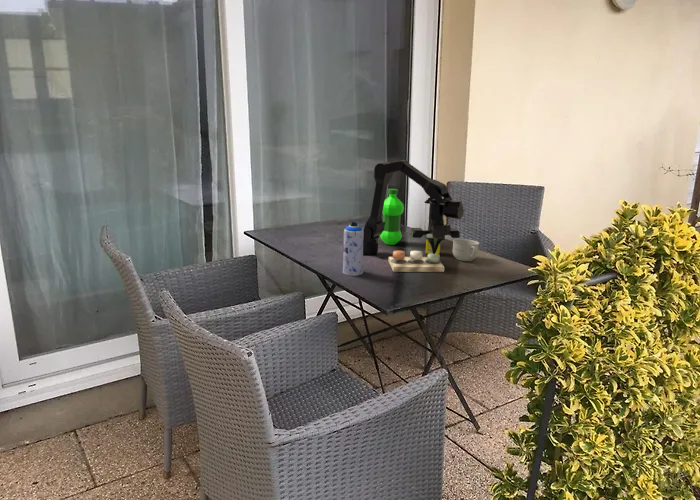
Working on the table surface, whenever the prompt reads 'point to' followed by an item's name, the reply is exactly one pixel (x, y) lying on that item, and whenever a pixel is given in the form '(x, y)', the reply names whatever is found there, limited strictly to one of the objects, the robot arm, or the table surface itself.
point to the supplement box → (428, 248)
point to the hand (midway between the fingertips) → (433, 253)
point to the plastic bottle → (392, 218)
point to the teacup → (465, 249)
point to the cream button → (416, 255)
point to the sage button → (433, 257)
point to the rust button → (398, 254)
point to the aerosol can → (353, 250)
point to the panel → (415, 265)
